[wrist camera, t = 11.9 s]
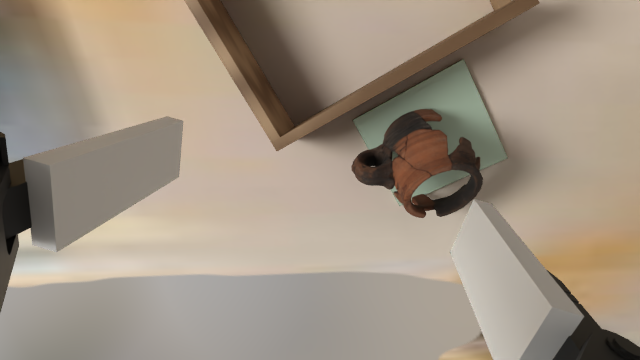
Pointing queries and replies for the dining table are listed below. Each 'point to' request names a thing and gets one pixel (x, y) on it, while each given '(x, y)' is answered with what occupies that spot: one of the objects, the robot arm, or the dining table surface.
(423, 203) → the brown hollow vessel
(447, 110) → the mat
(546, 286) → the robot arm
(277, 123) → the crate
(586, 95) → the dining table surface
